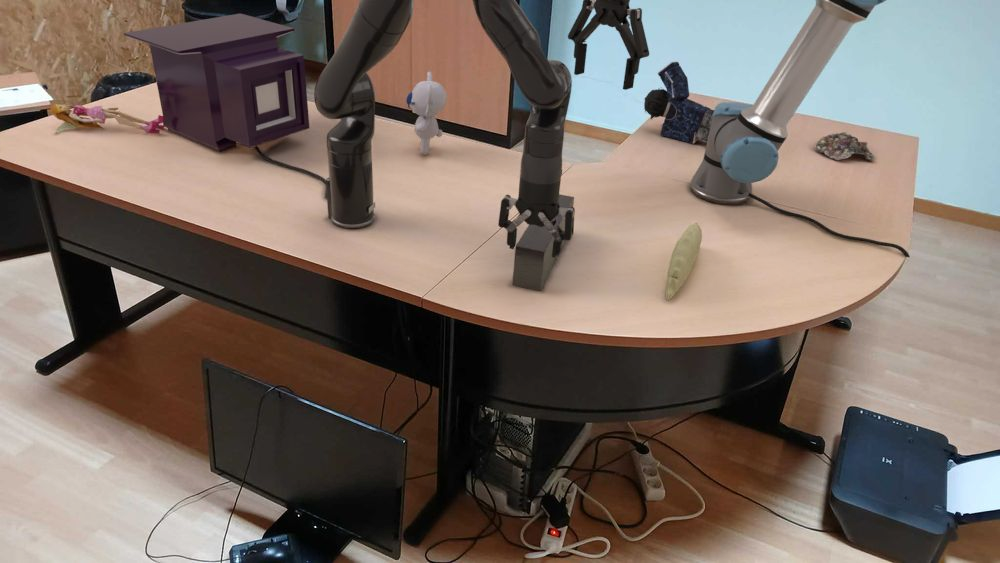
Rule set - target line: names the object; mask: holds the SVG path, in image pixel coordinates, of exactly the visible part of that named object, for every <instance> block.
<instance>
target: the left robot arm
mask: <svg viewBox="0 0 1000 563" xmlns="http://www.w3.org/2000/svg"><path fill="white" fill-rule="evenodd" d="M472 5H473V8H474V11H475V14H476V17H477V19H478V22H479V24H480V26H481V28H482V29H483V31H484V33H485V34H486V36H487V37H488V38H489V39H490V40H489V41H491V43H492V44H493V46H494V47H495V48H496V50H497V51H498V52H499V54H500V55H501V56H502V58H503V59H504V60H505V62H506V64H507V66H508V68H509V70H510V73H511V75H512V77H513V79H514V81H515V83H516V85H517V87H518V89H519V91H520V92H521V94H522V95H523V97H524V99H525V100H526V101H527V102H528V103H529V104H530V114H529V117H528V119H527V120H526V123H525V127H524V134H523V135H524V136H523V146H522V148H523V149H522V155H521V159H520V169H519V170H520V171H519V183H518V184H519V185H518V196H517V198H513V197H512V196H511V195H510V194H505V195H504V197H503V198H502V199H501V201H500V208H499V215H498V223H497V224H498V227H499V228H504V229H505V230H506V232H507V234H506V245H507V246H509V249H510V250H515V248H516V245H517V235H518V227H519V226H521V225H522V223H524V222H525V223H526V225H537V226H539V227H543V226H546V228H547V230H548V231H549V232H550V233H551V234H552V235H553V237H554V241H553V251H552V257H554V258H556V256H557V255H558V257H559V256H560V254H561V253H562V249H563V247H562V241H563V240H566V241H570V240H571V239H572V236H573V235H574V231H575V213H576V212H575V211H576V208H575V207H574V206H573V207H572V206H571V207H569V208H562V207H560V206H559V203H558V201H559V194H560V192H561V180H562V176H563V148H564V138H565V124H566V118H567V114H568V111H569V104H570V100H571V94H572V86H573V78H572V74H571V71H570V69H569V68H568V67H567V65H566V64H565V63H564V62H562V61H560V60H557V59H548V58H547V55H545V53H544V51H543V49H542V47H541V38H540V35H539V32H538V31H537V30H536V28H535V27H534V26H533V24H532V23H531V21H530V19H529V18H528V17H527V15H526V14H525V13H524V10H522V8H521V6H520V5H519V4H518V2H517V0H472ZM413 10H414V0H359V2H358V4H357V6H356V8H355V11H354V12H353V15H352V18H351V19H350V22H349V24H348V26H347V28H346V31H345V32H344V34H343V36H342V38H341V40H340V42H339V44H338V46H337V48H336V49H335V51H334V54H333V55H332V57H331V58H330V59H329V60H328V63H327V64H326V66H325V67H324V69H322V71H321V72H320V74H319V76H318V78H317V80H316V82H315V85H314V91H313V93H314V94H313V98H314V104H315V107H316V110H317V111H318V112H319V114H320V115H321V116H322V117H324V118H326V119H329V120H340V121H339V122H338V123H337V124H336V125H335V126H333V128H331V129H330V130H329V131H328V132H327V134H326V150H327V152H326V153H327V163H328V164H327V166H328V177H327V178H324V177H323V176H321V175H319V174H317V173H314V172H312V171H309V170H307V169H305V168H301V167H298V166H294V165H290V164H288V163H285V162H282V161H279V160H277V159H273V158H271V157H269V156H267V155H265V154H264V153H263V152H262V151H261V150H260V149H259V147H258V145H256V146H254V149H255V151H256V152H257V153H258V154H259V156H260V157H261V158H262V159H264V160H266V161H268V162H270V163H273V164H276V165H279V166H281V167H285V168H286V169H287V168H288V169H291V170H294V171H298V172H301V173H305V174H306V175H309V176H312V177H314V178H316V179H318V180H320V181H321V182H323V184H325V193H324V196H325V198H326V203H327V218H328V219H329V220H331V222H332V223H333V224H334V225H335V226H337V227H340V228H345V229H361V228H364V227H367V226H370V225H372V223H373V222H374V221H375V210H374V209H375V208H376V202H375V201H374V175H373V174H374V173H373V151H372V150H373V149H372V148H373V146H372V144H373V143H372V140H373V138H374V134H375V122H376V121H375V119H376V118H375V116H376V93H375V87H374V84H373V80H372V79H371V76H370V75H369V74H368V72H369V71H370V70H372V69H373V68H374V67H375V66H377V65H378V64H379V63H380V62H381V61H383V60H384V59H385V58H386V57H387V56H388V55H389V54H390V53H391V52H392V51H394V49H395V48H396V47H397V45H398V44H399V42H400V40H401V39H402V36H403V35H404V34H405V32H406V30H407V28H408V27H409V24H410V22H411V19H412V18H413V17H412V16H413ZM514 206H515V209H516V210H517V212H518V213H519V214H518V215H517V216H516V217H515V218H514V219H513V220H512V221H511V220H510V219H509V215H510V210H511V209H512V208H513V207H514ZM558 214H561V215H562V218H563V220H565V231H563V230H562V229H561V227H560V225H559V222H558V220H557V219H556V216H557V215H558Z"/></svg>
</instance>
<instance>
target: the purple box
mask: <svg viewBox="0 0 1000 563" xmlns="http://www.w3.org/2000/svg"><path fill="white" fill-rule="evenodd" d="M294 31H295V28H294V27H292V26H287V25H283V24H279V23H276V22H272V21H269V20H264V19H262V18H259V17H256V16H255V17H254V16H252V15H247V14H244V13H235V14H230V15H224V16H217V17H212V18H205V19H200V20H194V21H188V22H181V23H175V24H169V25H163V26H157V27H151V28H146V29H145V28H144V29H139V30H134V31H128V32H123V36H125V37H127V38H130V39H133V40H136V41H138V42H142V43H145V44H148V45H149V50H150V54H151V60H152V66H153V71H154V75H155V76H154V77H155V82H156V87H157V92H158V97H159V102H160V107H161V113H162V116H163V119H164V122H163V123H162V125H163V126H164V128H166V129H167V131H168V132H170V133H172V134H175V135H177V136H179V137H182V138H184V139H187V140H189V141H191V142H193V143H196V144H197V145H200V146H203V147H205V148H207V149H209V150H212V151H215V152H217V153H219V154H220V153H224V152H227V151H229V150H233V149H235V148H237V144H240V145H242V146H245V147H247V148H249V149H250V148H253V147H255V146H259V145H262V144H266V143H269V142H271V141H275V140H278V139H281V138H285V137H287V136H289V135H293V134H296V133H300V132H302V131H305V130H308V129H310V118H309V105H308V94H307V93H308V92H307V80H306V79H307V78H306V68H305V56H304V54H303V53H302V54H301V53H297V52H296V51H295V52H294V51H291V50H288V49H285V48H282V47H279V44H278V40H277V38H280V37H282V36H286V35H287V34H291V33H292V32H294Z"/></svg>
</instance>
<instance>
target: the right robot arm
mask: <svg viewBox="0 0 1000 563" xmlns="http://www.w3.org/2000/svg"><path fill="white" fill-rule="evenodd" d="M630 1H631V0H582V6H581V9H580V10H579V13H578V15H577V17H576V18H575V21H574V23H573V25H572V26H571V28H570V29H569V30H570V31H569V32H568V34H567V39H568V40H571V41H572V42H573V44H574V48H573V58H574V59H575V61H574V70H573V71H574V72H573V74H574V75H575V76H579V75H582V74H585V70H586V69H585V68H586V60H587V50H588V43H587V41H586V40H588V38H590V37H591V35H592V34H593V33H594V32H595V31H596V30H597V28H598V27H599V26H600V25H601V26H608V27H609V28H615V31H617V32H618V33H619V36H620V38H621V39H622V42H623V44H624V47H625V48H626V51H627V53H628V56H629V57H628V58H626V62H625V69H624V70H625V71H624V77H623V84H622V90H625V91H626V90H630V89H633V88H634V83H635V77H636V75H637V74H638V73H639V69H640V62H641V59H644V58H648V57H649V56H650V50H649V46H648V41H647V37H646V33H645V29H644V24H643V20H642V19H643V9H642V8H641V7H637V8H631V7H630ZM886 1H887V0H815V5H814V7H813V9H812V10H811V12H810V13H809V15H808V17H807V18H806V20H805V22H804V23H803V25H802V27H800V30H799V31H798V33H797V34H796V36H795V38H794V39H793V40H792V42H791V44H790V45H789V47H788V48H787V50H786V51H785V53H784V55H783V57H782V58H781V60H780V61H779V63H778V64H777V66H776V68H775V69H774V71H773V73H772V74H771V76H770V77H769V79H768V81H767V82H766V84H765V85H764V86H763V89H762V90H761V91H760V94H758V97H757V98H756V99H755V101H754V103H753V104H750V103H744V102H737V101H736V102H733V101H725V102H720V103H718V104H717V105H715V106H714V109H713V110H714V113H713V115H712V117H713V118H712V122H711V127H710V131H709V136H708V141H707V142H706V145H705V150H704V154H703V159H702V161H701V163H700V165H699V166H698V168H697V169H696V171H695V173H694V174H693V176H692V179H691V181H690V184H689V189H690V191H691V193H693V194H694V196H696V197H698V198H700V199H702V200H704V201H707V202H710V203H713V204H717V205H726V206H727V205H729V206H734V205H742V204H745V203H747V202H749V201H750V199H751V198H752V199H754V200H755V201H757V202H759V203H761V204H762V205H764V206H767V207H768V208H770V209H772V210H774V211H775V212H778V213H781V214H784V215H786V216H791V217H795V218H799V219H802V220H805V221H808V222H809V223H812V224H814V225H816V226H817V227H819V228H820V229H822V230H823V231H825V232H826V233H828V234H831V235H833V236H835V237H838V238H841V239H845V240H850V241H855V242H861V243H867V244H873V245H877V246H882V247H887V248H892V249H893V248H894V249H896V250H898V251H900V252H901V253H902V254H903V255H904V257H906V258H910V255H909V253H908V251H907V250H906V249H905V248H904V247H903V246H901V245H898V244H897V243H896V244H895V243H891V242H886V241H879V240H875V239H870V238H865V237H860V236H853V235H848V234H844V233H840V232H837V231H834V230H832V229H831V228H828V227H827V226H826V225H824V224H823V223H821V222H819V221H818V220H816V219H814V218H812V217H809V216H806V215H803V214H800V213H797V212H792V211H789V210H785V209H782V208H780V207H777V206H775V205H774V204H772V203H770V202H768V201H767V200H764V199H763V198H761V197H759V196H757V195H756V194H753V193H752V192H753V186H752V184H754V183H757V182H761V181H764V180H765V179H767V178H769V176H771V174H772V173H774V171H775V170H776V168H777V166H778V163H779V150H780V148H781V147H782V146H783V144H784V142H785V141H786V140H787V138H788V136H789V134H788V130H787V126H788V125H789V124H788V123H789V122H790V121H791V119H792V118H793V117H794V115H795V113H796V112H797V110H798V108H799V107H800V105H801V104H802V103H803V101H804V100H805V98H806V97H807V95H808V93H810V90H811V89H812V87H813V86H814V85H815V83H816V82H817V80H818V79H819V77H820V76H821V74H822V72H823V71H824V70H825V68H826V66H827V65H828V63H829V62H830V60H831V59H832V58H833V56H834V54H835V53H836V52H837V50H838V48H839V47H840V46H841V44H842V43H843V41H844V39H845V38H846V36H847V35H848V34H849V32H850V30H851V28H852V27H853V26H854V25H855V24H857V23H860V22H863V21H866V20H867V18H868V17H869V15H870V14H871V13H872V12H873V10H874V8H875V7H876V6H878V5H880V4H882V3H885V2H886ZM593 10H594V12H595V13H594V15H593V16H592V17H591V18H590V16H591V14H592V12H593ZM589 18H590V21H589V22H588V20H589ZM587 22H588V23H587ZM585 25H586V26H585Z"/></svg>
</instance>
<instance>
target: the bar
mask: <svg viewBox="0 0 1000 563" xmlns="http://www.w3.org/2000/svg"><path fill="white" fill-rule="evenodd" d="M558 203H559V206H560V207H562V208H569V207H571V206H572V207H574V204H575V196H570V195H565V194H561V193H559V201H558ZM556 219H557V220H558V222H559V225H560V227H561V229H562V230H563V231H565V220H563V218H562V215H561V214H558V215H557V216H556ZM527 225H528V226H527V227H526V228H525V230H524V232H523V234H522V235H521V236H520V238H519V239H518V241H517V242H516V245H515V247H514V259H513V260H514V261H513V262H514V263H513V273H512V274H513V275H512V283H511V284H512V286H514V287H518V288H519V287H520V288H523V289H528V290H531V291H537V292H541V291H542V289H543V287H544V285H545V283H546V281H547V279H548V277H549V275H550V273H551V271H552V269H553V267H554V265H555V263H556V261H557V259H558V257H559V256H558V255H557V256H556V258H554V257H552V251H553V241H554V237H553V235H552V234H551V233H550V232H549V231H548V230H547V228H546V226H543V227H539V226H537V225H529V224H527ZM566 241H567V240H563V241H562V248H563V247H564V246H565V244H566Z"/></svg>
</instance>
